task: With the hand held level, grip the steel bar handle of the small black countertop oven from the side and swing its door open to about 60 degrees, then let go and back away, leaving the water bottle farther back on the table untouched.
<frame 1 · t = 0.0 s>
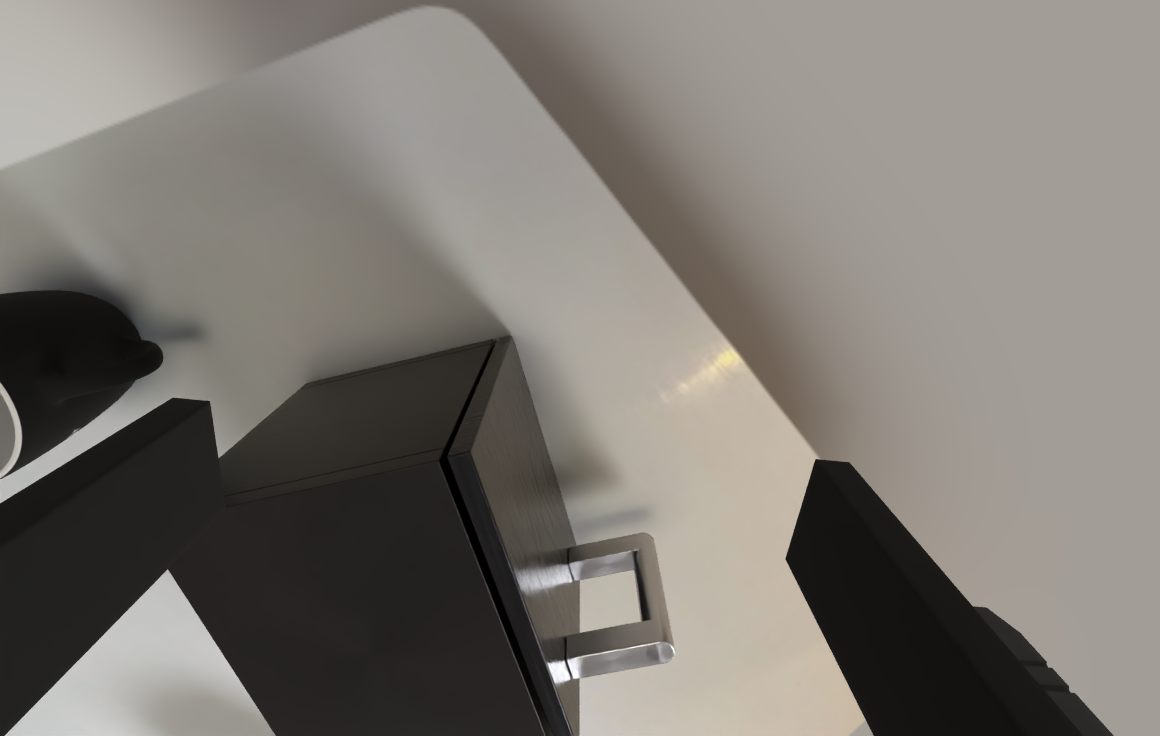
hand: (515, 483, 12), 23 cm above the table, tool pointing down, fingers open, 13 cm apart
mug: (119, 338, 36), on the table
oven door: (582, 512, 32), point 7 cm above the table, hinge at 0.0°
oven: (443, 476, 40), on the table
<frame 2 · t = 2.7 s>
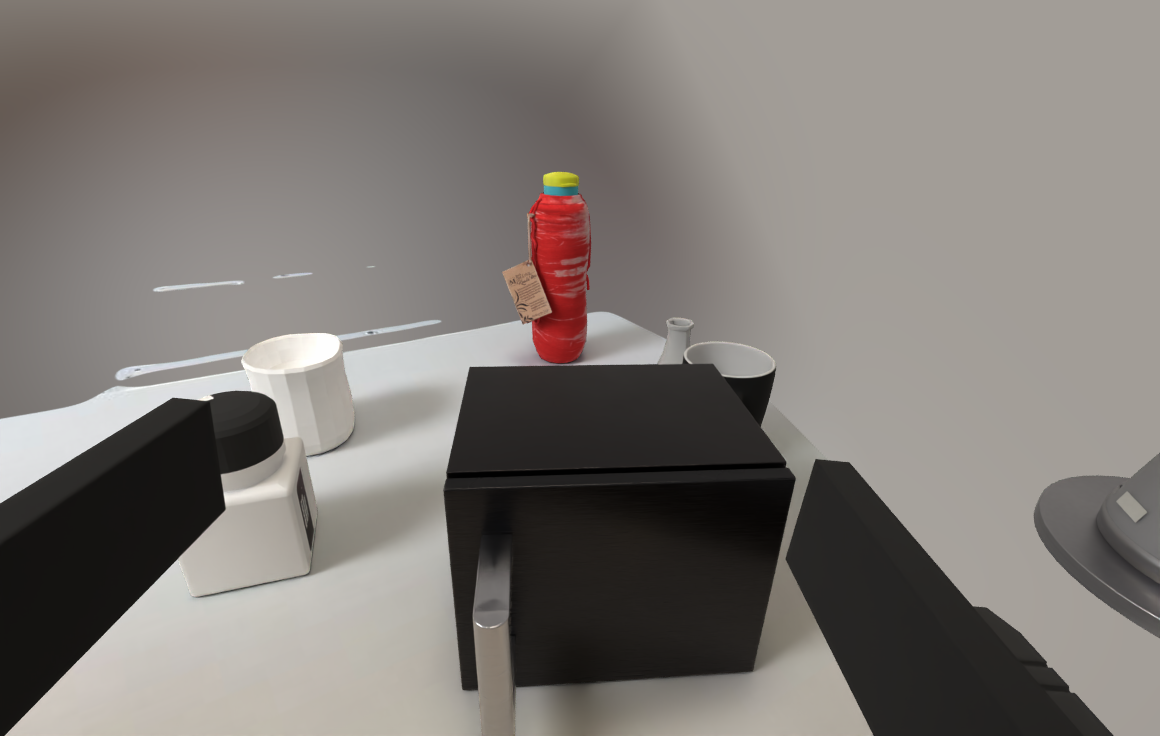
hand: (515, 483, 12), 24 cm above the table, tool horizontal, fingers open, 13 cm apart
cup: (312, 435, 60), on the table
mug: (717, 454, 58), on the table
oven door: (624, 628, 29), point 7 cm above the table, hinge at 0.0°
oven: (596, 585, 41), on the table
container: (261, 553, 44), on the table
flask: (672, 399, 69), on the table
water bottle: (550, 359, 79), on the table
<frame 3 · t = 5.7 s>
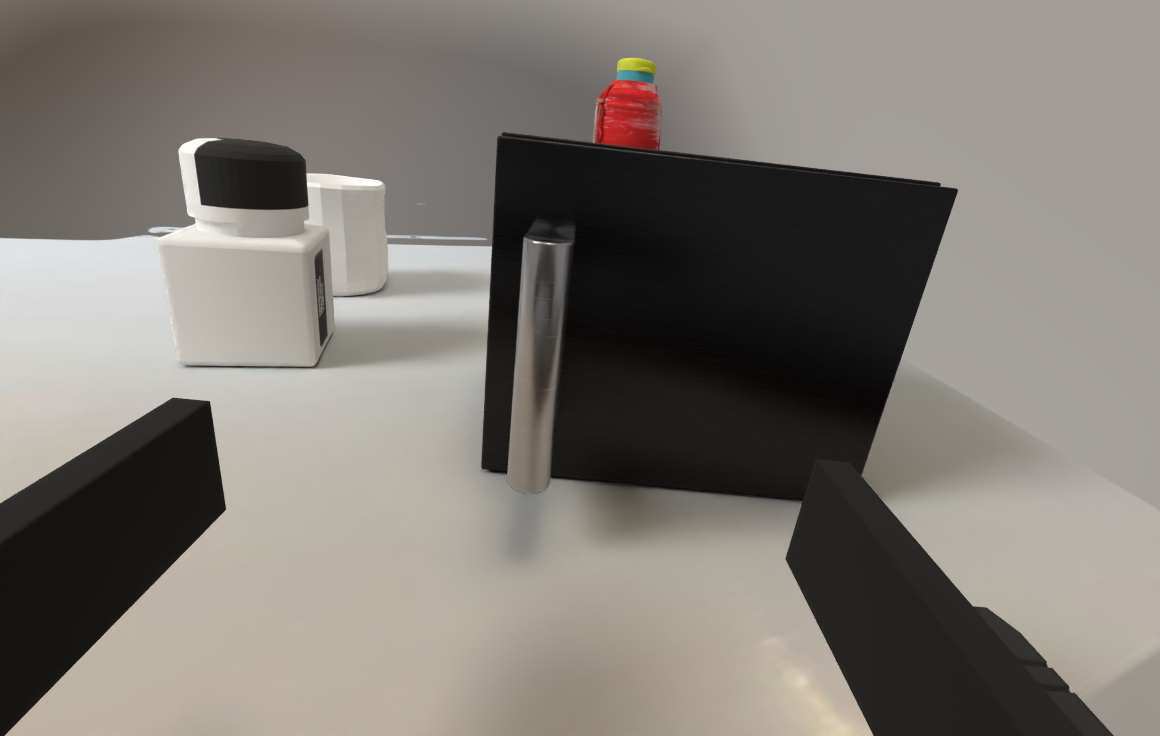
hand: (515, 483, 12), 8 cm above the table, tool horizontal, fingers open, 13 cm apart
cup: (340, 286, 54), on the table
oven door: (708, 363, 22), point 8 cm above the table, hinge at 0.0°
oven: (650, 417, 34), on the table
container: (265, 349, 38), on the table
water bottle: (600, 273, 73), on the table
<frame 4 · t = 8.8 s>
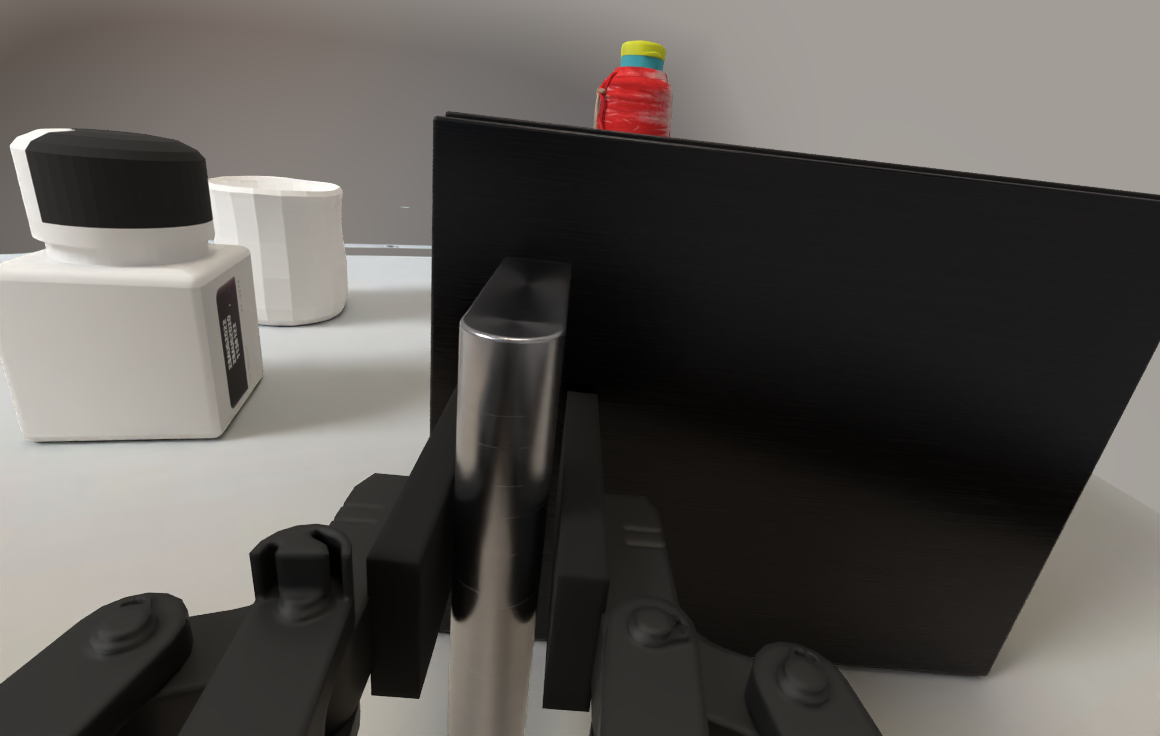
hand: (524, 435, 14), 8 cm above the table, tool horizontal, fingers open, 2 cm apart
cup: (289, 311, 45), on the table
oven door: (798, 506, 13), point 7 cm above the table, hinge at -0.1°
oven: (673, 511, 25), on the table
container: (162, 408, 29), on the table
water bottle: (601, 289, 64), on the table
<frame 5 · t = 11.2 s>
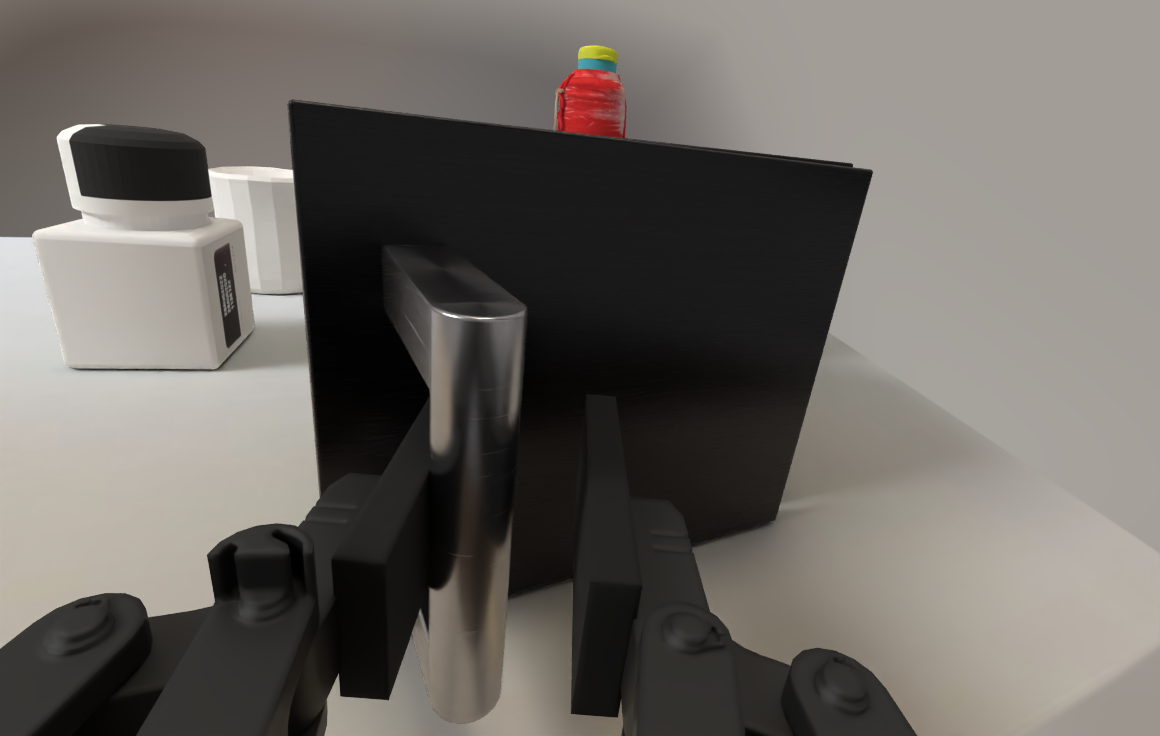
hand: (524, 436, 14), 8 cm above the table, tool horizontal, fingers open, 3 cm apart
cup: (281, 283, 52), on the table
oven door: (667, 423, 16), point 8 cm above the table, hinge at 27.3°, touching gripper
oven: (572, 423, 32), on the table
container: (172, 350, 36), on the table
water bottle: (566, 270, 71), on the table
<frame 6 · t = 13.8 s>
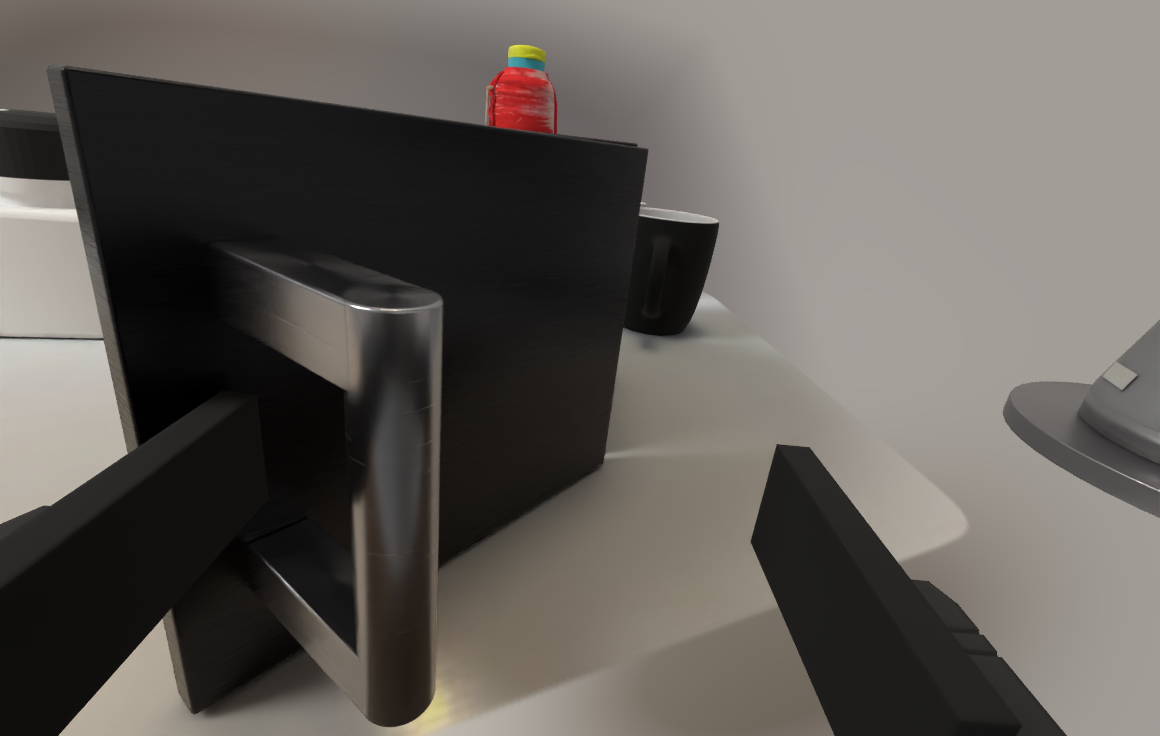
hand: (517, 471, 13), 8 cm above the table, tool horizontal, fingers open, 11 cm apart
mug: (648, 331, 51), on the table
oven door: (527, 392, 17), point 7 cm above the table, hinge at 51.8°
container: (84, 323, 38), on the table
water bottle: (503, 260, 74), on the table
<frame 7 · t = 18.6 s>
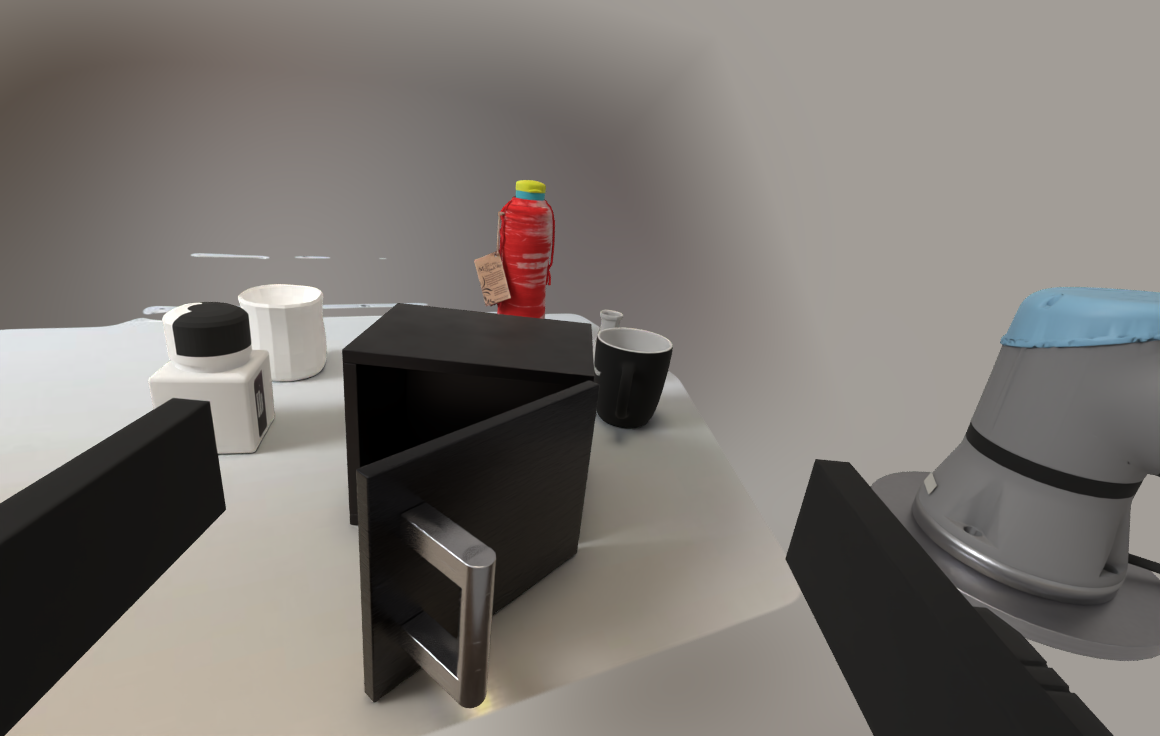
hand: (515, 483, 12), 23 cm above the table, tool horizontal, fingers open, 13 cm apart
cup: (289, 369, 72), on the table
mug: (621, 423, 68), on the table
oven door: (528, 543, 34), point 8 cm above the table, hinge at 51.1°
oven: (475, 489, 51), on the table
container: (223, 436, 55), on the table
flask: (602, 382, 79), on the table
water bottle: (510, 342, 90), on the table
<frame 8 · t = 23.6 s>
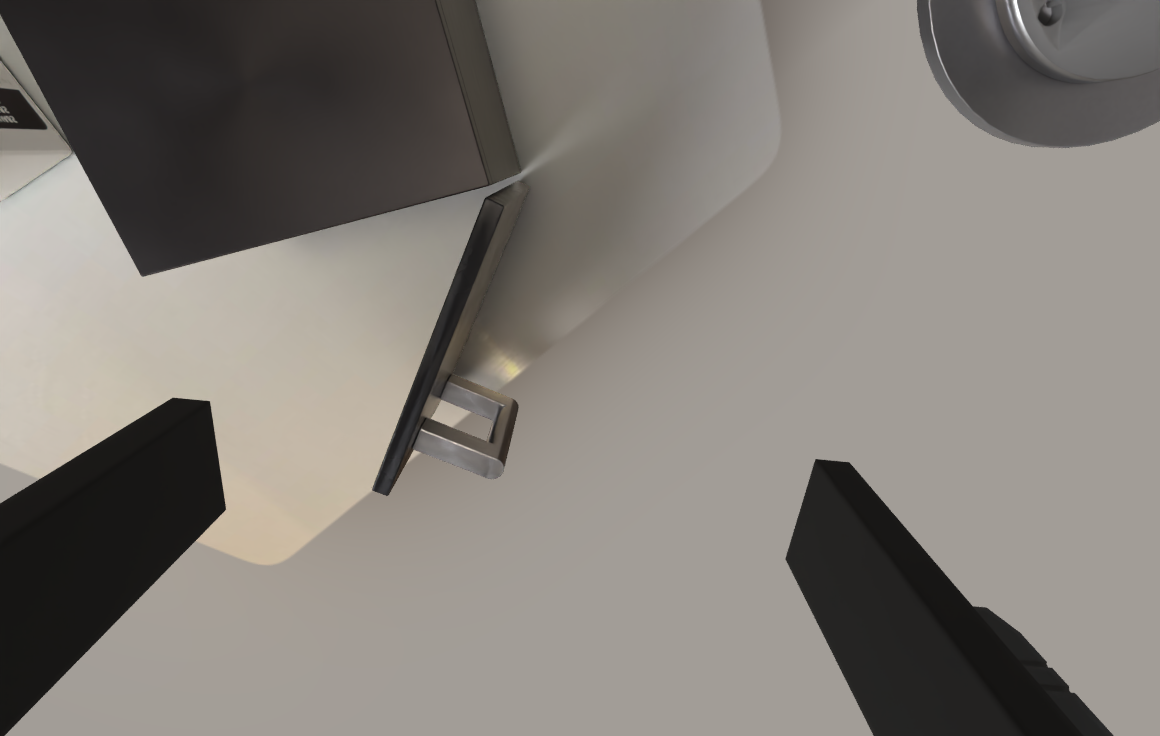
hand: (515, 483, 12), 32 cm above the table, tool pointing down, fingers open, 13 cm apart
oven door: (500, 340, 37), point 8 cm above the table, hinge at 51.1°
oven: (369, 108, 38), on the table
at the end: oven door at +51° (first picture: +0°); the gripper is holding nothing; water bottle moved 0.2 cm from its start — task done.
